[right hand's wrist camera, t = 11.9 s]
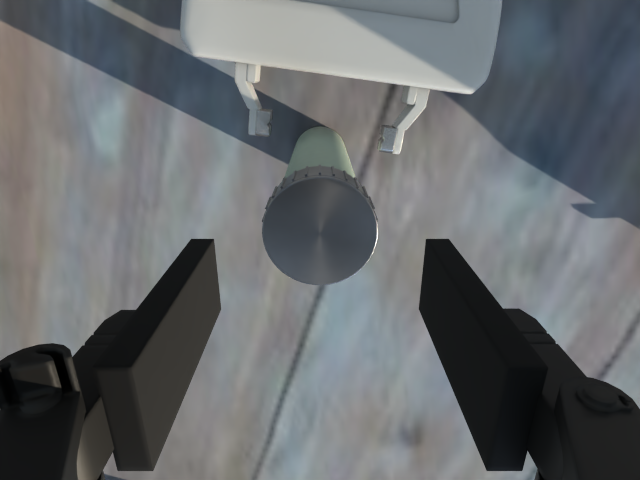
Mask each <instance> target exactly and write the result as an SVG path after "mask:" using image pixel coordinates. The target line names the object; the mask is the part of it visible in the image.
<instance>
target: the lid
mask: <svg viewBox="0 0 640 480" xmlns="http://www.w3.org/2000/svg"><path fill="white" fill-rule="evenodd" d="M265 209H266V211H265V214H264V217H263V219H262V222H263V226H262V237H263V242H264V246H265V249H266V251H267V253H268V255H269V257H270V259H271V260H272V262H273V263H274V264H275V265H276V266H277V268H279V269H280V270H281V271H282V272H283V273H284V274H286V275H287V276H289V277H291V278H293V279H294V280H297V281H300V282H303V283H306V284H312V285H328V284H333V283H337V282H340V281H343V280H345V279H347V278H349V277H351V276H353V275H354V274H356V273H357V272H358V271H359V270H360V269H362V267H363V266H364V265H365V264H366V263H367V262H368V260H369V259H370V257H371V255H372V253H373V251H374V249H375V246H376V242H377V235H378V227H377V222H378V219H377V217H376V214H375V211H374V209H375V208H374V205H373V203H372V200H371V198H370V197H368V194H367V192H366V189H365V187H364V186H363V187H362V186H361V184H360V183H359V182H358V181H357V178H356V177H354V178H353V177H352V176H351V175H349V174H347V173H346V171H345V170H344V171H341V170H339V169H336V168H334V166H332V167H327V166H321V165H319V166H313V167H308V166H306V168H304V169H301V170H298V171H296V170H295V171H294V172H293V174H291V175H289V176H288V177H287V178H285V177H284V178H283V181H282V182H281V183H280V185H279V186H278V187H277V186H276V187H275V189H274V191H273V194H272V197H270V198H269V200H268V203H267V205H266V208H265Z"/></svg>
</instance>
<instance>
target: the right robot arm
mask: <svg viewBox="0 0 640 480" xmlns="http://www.w3.org/2000/svg"><path fill="white" fill-rule="evenodd" d="M220 310H221V303H220V294H219V284H218V274H217V265H216V255H215V245H214V239H191V240H190V241H189V243H188V244H187V245H186V247H185V248H184V249H183V250H182V252H181V253H180V254H179V256H178V257H177V258H176V259H175V261H174V262H173V263H172V265H171V266H170V267H169V268H168V270H167V271H166V272H165V274H164V275H163V276H162V277H161V279H160V280H159V281H158V283H157V284H156V285H155V286H154V288H153V289H152V290H151V292H150V293H149V294H148V295H147V297H146V298H145V299H144V301H143V302H142V303H141V304H140V306H139V307H138V308H137V310H120V311H119V312H117V313H116V314H114V315H112V316H111V317H109V318H108V319H106V320H104V322H103V323H102V324H101V325H100V326H99V327H98V328H97V330H96V331H95V332H94V335H91V336H90V338H89V339H88V340H87V341H86V342H85V345H84V346H82V347H81V348H80V349H79V350H78V351H77V353H76V354H75V355H74V356H73V357H72V355H71V351H70V349H68V348H67V347H66V346H64V345H60V344H53V343H51V344H41V345H36V346H32V347H28V348H25V349H22V350H20V351H17V352H15V353H13V354H11V355H8V356H7V357H5V358H4V359H2V360H1V361H0V409H1V410H0V480H105V476H104V472H103V469H104V467H105V465H106V463H107V461H108V459H109V458H110V456H111V454H112V452H113V454H114V458H115V462H116V466H117V470H118V471H153V470H154V468H155V465H156V463H157V460H158V458H159V456H160V453H161V451H162V449H163V446H164V444H165V441H166V439H167V437H168V434H169V432H170V429H171V427H172V425H173V422H174V420H175V418H176V415H177V413H178V410H179V408H180V406H181V403H182V401H183V399H184V396H185V394H186V391H187V389H188V387H189V384H190V382H191V379H192V377H193V375H194V372H195V370H196V368H197V365H198V363H199V360H200V358H201V356H202V353H203V351H204V349H205V346H206V344H207V341H208V339H209V337H210V334H211V332H212V329H213V327H214V325H215V322H216V320H217V318H218V315H219V313H220ZM419 310H420V313H421V315H422V318H423V320H424V322H425V325H426V327H427V329H428V332H429V334H430V337H431V339H432V341H433V344H434V346H435V349H436V351H437V353H438V356H439V358H440V360H441V363H442V365H443V368H444V370H445V372H446V375H447V377H448V379H449V382H450V384H451V387H452V389H453V391H454V394H455V396H456V399H457V401H458V403H459V406H460V408H461V410H462V413H463V415H464V418H465V420H466V422H467V425H468V427H469V429H470V432H471V434H472V437H473V439H474V441H475V444H476V446H477V449H478V451H479V453H480V456H481V458H482V460H483V463H484V465H485V468H486V470H487V471H522V470H523V466H524V462H525V458H526V454H527V450H528V452H529V454H530V456H531V457H532V459H533V461H534V463H535V465H536V466H537V468H538V469H537V472H536V476H535V480H640V409H639V407H638V406H637V405H636V403H635V402H634V401H633V399H632V398H630V397H629V396H628V395H627V394H625V393H624V392H623V391H622V390H620V389H618V388H616V387H614V386H612V385H610V384H608V383H606V382H603V381H600V380H597V379H594V378H589V377H586V376H585V374H584V373H583V372H582V371H581V370H580V369H579V368H578V367H577V365H576V364H575V363H574V362H573V361H572V360H571V359H570V357H569V356H568V355H567V354H566V353H565V352H564V351H563V349H562V348H561V347H560V346H559V345H558V344H556V343H555V340H554V339H553V338H552V337H551V336H550V335H549V334H547V331H546V330H545V329H544V328H543V327H542V326H541V324H540V323H539V322H538V321H537V320H536V319H535V318H533V317H532V316H530V315H528V314H527V313H525V312H524V311H522V310H520V309H503V308H502V307H501V306H500V304H499V303H498V302H497V301H496V299H495V298H494V297H493V295H492V294H491V293H490V292H489V290H488V289H487V288H486V286H485V285H484V284H483V283H482V281H481V280H480V279H479V277H478V276H477V275H476V274H475V272H474V271H473V270H472V268H471V267H470V266H469V265H468V263H467V262H466V261H465V259H464V258H463V257H462V256H461V254H460V253H459V252H458V250H457V249H456V248H455V247H454V245H453V244H452V243H451V241H450V240H449V239H426V245H425V255H424V265H423V274H422V284H421V294H420V303H419Z"/></svg>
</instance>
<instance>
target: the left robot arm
mask: <svg viewBox="0 0 640 480" xmlns="http://www.w3.org/2000/svg"><path fill="white" fill-rule="evenodd" d="M501 9H502V0H182V7H181V20H180V36H181V40H182V42H183V43H184V45H185V46H186V48H187V49H188V51H189V52H190V53H191V55H193V56H196V57H201V58H209V59H216V60H223V61H230V62H235V83H236V85H237V87H238V89H239V91H240V93H241V95H242V98H243V100H244V102H245V104H246V106H247V108H248V109H249V126H248V133H249V135H256V136H265V137H269V136H270V135H271V130H272V125H271V123H270V122H271V120H272V118H273V110H269V109H262V106H261V104H260V102H259V99H258V97H257V95H256V92H255V90H254V88H253V85H252V83H257V82H259V80H260V68H261V66H268V67H275V68H283V69H290V70H297V71H304V72H312V73H319V74H326V75H333V76H340V77H348V78H355V79H362V80H369V81H377V82H384V83H391V84H398V85H404V87H403V93H402V99H401V101H402V102H403V103H406V104H408V105H407V106H406V108H405V109H404V110H403V112H402V113H401V114H400V115H399V117H398V118H397V119H396V121H395V122H394V123H393V124H392V126H389V125H381V128H380V136H381V137H380V139H379V140H378V146H377V149H378V150H379V151H380V152H386V153H394V154H399V153H400V151H401V146H402V141H403V136H404V131H405V130H407V129H408V128H409V126H410V125H411V124H412V123H413V122H414V120H415V119H416V118H417V117H418V116H419V115H420V113H421V112H422V111H423V110H424V109H425V107H426V104H427V99H428V95H429V90H430V89H432V90H440V91H447V92H454V93H461V94H472V93H474V92H475V91H476V90H477V89H478V88H480V87H481V86H482V85H483V84H484V83H485V81H486V80H487V78H488V76H489V72H490V69H491V65H492V61H493V57H494V52H495V48H496V42H497V37H498V31H499V25H500V17H501Z"/></svg>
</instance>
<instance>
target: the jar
mask: <svg viewBox="0 0 640 480" xmlns="http://www.w3.org/2000/svg"><path fill="white" fill-rule="evenodd" d="M319 165H321V166H327V167H332V166H334V168H336V169H339V170H341V171H344V170H345V171H346V173H347V174H349V175H351V176H352V177H353V178H354V177H355V174H354V172H353V169H352V166H351V163H350V160H349V157H348V154H347V151H346V148H345V145H344V142H343V140H342V138H341V137H340V136H339V135H338V134H337V133H336V132H335V131H334V130H332V129H330V128H327V127H313V128H310V129H308V130H306V131H305V132H304V133H303V134H302V135H301V136H300V137H299V139H298V140H297V142H296V145H295V148H294V151H293V154H292V157H291V160H290V163H289V166H288V168H287V171H286V174H285V178H287V177H288V176H289V175H291V174H293V172H294V171H295V170H296V171H298V170H301V169H304V168H306V166H308V167H313V166H319Z"/></svg>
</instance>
